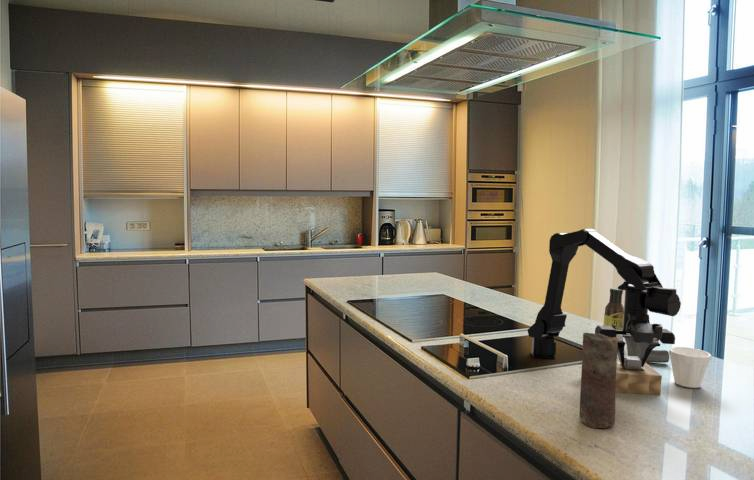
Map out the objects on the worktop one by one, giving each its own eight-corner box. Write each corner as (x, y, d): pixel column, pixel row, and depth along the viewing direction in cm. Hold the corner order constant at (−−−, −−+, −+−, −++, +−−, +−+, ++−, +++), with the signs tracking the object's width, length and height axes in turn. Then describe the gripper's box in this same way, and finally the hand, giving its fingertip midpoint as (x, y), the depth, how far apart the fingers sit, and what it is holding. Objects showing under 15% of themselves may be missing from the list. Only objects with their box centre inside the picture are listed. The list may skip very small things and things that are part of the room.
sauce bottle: (612, 349, 181) (615, 290, 180) (597, 344, 187) (601, 287, 185) (626, 347, 184) (630, 289, 182) (611, 343, 189) (615, 286, 188)
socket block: (615, 391, 141) (616, 372, 140) (603, 377, 152) (604, 360, 151) (660, 394, 140) (661, 375, 139) (644, 380, 150) (646, 362, 150)
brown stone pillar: (572, 415, 124) (577, 330, 123) (603, 415, 125) (608, 330, 123) (588, 430, 117) (593, 339, 115) (621, 429, 117) (626, 339, 116)
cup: (703, 381, 151) (706, 349, 150) (713, 393, 141) (715, 359, 141) (663, 377, 154) (666, 345, 153) (670, 388, 145) (672, 354, 144)
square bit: (625, 388, 144) (627, 359, 144) (621, 384, 148) (623, 355, 147) (639, 389, 144) (641, 360, 143) (634, 385, 147) (636, 356, 147)
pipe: (670, 367, 163) (672, 341, 163) (625, 363, 166) (626, 337, 165) (664, 361, 169) (665, 336, 169) (620, 357, 172) (622, 333, 171)
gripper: (608, 313, 137) (604, 373, 138) (686, 317, 135) (681, 378, 136) (596, 304, 148) (592, 360, 149) (668, 308, 146) (664, 364, 147)
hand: (632, 365), depth 145 cm, fingers open, 5 cm apart
